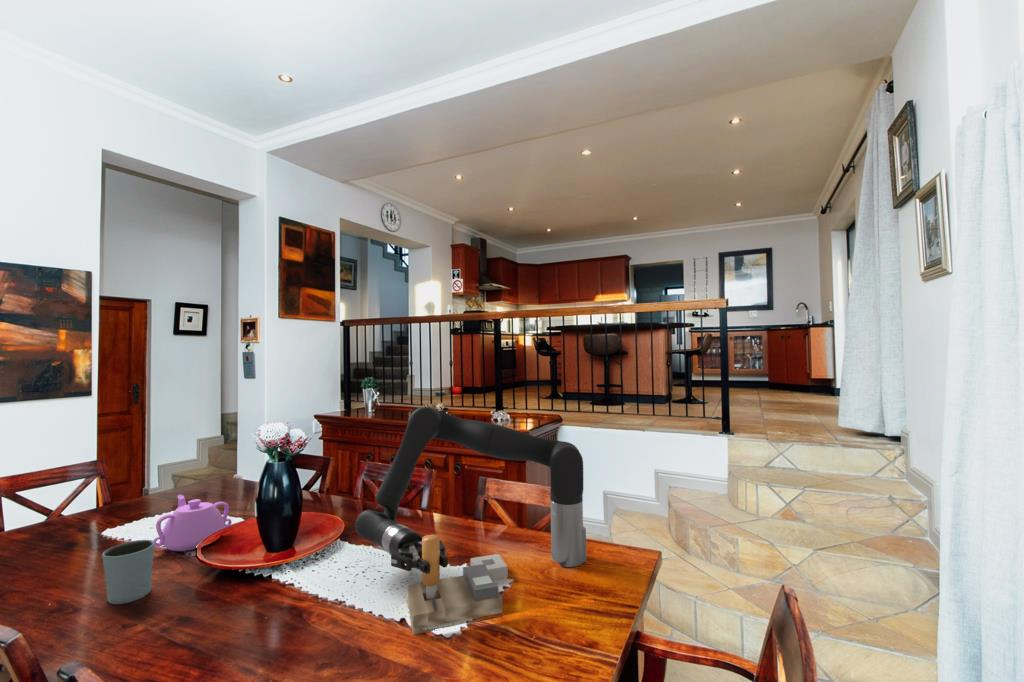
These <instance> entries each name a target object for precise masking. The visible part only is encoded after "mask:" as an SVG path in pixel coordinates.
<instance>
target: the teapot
mask: <svg viewBox="0 0 1024 682" xmlns="http://www.w3.org/2000/svg"><path fill="white" fill-rule="evenodd" d="M177 502H178V503H177V508H176V509H175V510H174V511H173V512H172V513H169V514H165V515H163V516H161V517H159V518H158V520H157V521H156V523H155V528H156V533H157V535H158V537H155V538H154V539H152V541H154V548H155V547H156V548H159V547H162V546H164V547H165V549H167V550H168V551H173V552H188V551H193V550H196V549H195V548H196V546H197V545H198V544H199V543H200V542H201V541H203V540H204V539H205V538H207V537H208V536H210V535H212V534H213V533H215V532H218V531H219V530H221V529H223V528H226V527H227V526H229V527H230V526H231V525H232V522H233V521H232V519H230V518H228V514H229V511H230V507H229V504H228V503H227V502H225V501H218V502H215V503H212V502H207V501H206V502H202V501H201V499H199V498H198V499H197V498H195V499H191V500H188V501H186V498H185V496H184V495H183V494H178V495H177ZM219 506H223V507H224V510H223V511H224V512H223V514H222V513H221V512H220V510H219V509H218V508H217V507H219ZM165 520H166V523H165V525H164V526H163V529H162V525H161V524H162V523H163V521H165ZM227 528H228V527H227ZM157 541H159V542H157ZM187 550H188V551H187Z"/></svg>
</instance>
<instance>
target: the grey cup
mask: <svg viewBox="0 0 1024 682" xmlns="http://www.w3.org/2000/svg"><path fill="white" fill-rule="evenodd" d="M154 552H155V546H154V541H153V539H138V540H131V541H126V542H124V543H120V544H117V545H114V546H112V547H109V548H108V549H106V550H104V551H103V552H102V554H101V557H102V564H103V571H104V580H105V584H106V586H105V587H106V589H105V590H106V594H107V595H106V596H107V597H106V599H107V602H109V604H110V603H111V604H110V605H122V604H128V603H131V602H134V601H138V600H139V599H142V598H144V597H145V596H147V595H148V594H149V593H150V592H151V591H152V580H153V579H152V577H153V576H152V574H153V567H154V566H153V561H154Z"/></svg>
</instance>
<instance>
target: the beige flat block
mask: <svg viewBox="0 0 1024 682" xmlns="http://www.w3.org/2000/svg"><path fill="white" fill-rule="evenodd" d="M503 602H504V601H503V597H502V596H501V594H500V592H499V591H498V597H497V598H492V599H486V600H481V601H474V599H473V597H472V595H471V593H470V591H469V589H468V587H467V584H466V582H465V580H464V578H463V575H459V576H458V575H457V576H452V577H447V578H442V579H441V578H440V582H439V583H438V584H436V599H431V600H428V601H426V585H424V584H423V583H422V582H417V583H411V584H406V605H407V604H408V606H407V610H408V609H409V611H408V614H410V616H409V619H410V620H411V621H410V626H411V629H412V630H411V631H412V635H419V634H423V633H428V632H433V630H434V631H436V630H435V629H437V628H438V627H436V626H440V625H441V626H442V625H447V624H452V623H457V622H461V621H466V620H471V619H475V620H471V621H467V622H468V623H469V624H474V623H478V622H483V621H487V620H493V619H498V618H503V617H504V614H502V613H503V612H504V610H503V608H504V607H503V605H504V603H503ZM497 614H501V615H497ZM492 615H496V616H492ZM486 616H490V617H487V618H486ZM482 617H485V618H482ZM477 618H480V619H477ZM481 618H482V619H481ZM473 622H474V623H473ZM431 627H432V628H431ZM433 627H436V628H433ZM426 628H431V629H427V630H424V629H426Z"/></svg>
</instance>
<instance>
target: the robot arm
mask: <svg viewBox="0 0 1024 682" xmlns="http://www.w3.org/2000/svg"><path fill="white" fill-rule="evenodd" d="M431 439H435V440H441V441H446V442H453V443H456V444H458V445H460V446H462V447H465V448H467V449H469V450H471V451H474V452H476V453H478V454H482V455H485V456H489V457H492V458H496V459H500V460H507V461H529V462H534V463H536V464H540V465H543V466H546V467H548V468H550V491H549V492H550V498H549V499H550V546H551V547H550V548H551V549H550V556H551V559H552V561H554V562H555V563H558V564H559V566H561V567H563V568H573V567H574V568H575V567H578V566H581V565H582V564H583V563H587V528H586V527H585V526H584V509H583V508H584V506H583V504H584V503H583V502H584V501H583V500H584V498H583V494H584V459H583V456H582V453H581V452H580V450H579V449H578V447H577V446H576V445H574V444H573V443H571V442H568V441H563V440H562V441H561V440H556V439H555V440H554V439H549V438H541V437H539V436H538V437H537V436H534V435H531V434H528V433H526V432H524V431H520V430H516V429H514V428H510V427H507V426H504V425H500V424H497V423H492V422H487V421H481V420H475V419H466V418H460V417H457V416H454V415H453V414H452V415H451V414H450V413H449V414H448V413H445V412H444V411H441V410H438V409H436V408H434V407H430V406H422V407H418V408H416V409H415V410H413V412H412V413H410V415H409V419H408V421H407V425H406V428H405V431H404V435H403V437H402V441H401V443H400V445H399V448H398V450H397V453H396V455H395V457H394V459H393V461H392V463H391V465H390V466H389V469H388V470H387V473H386V474H385V477H383V478H384V479H383V480H382V482H381V484H380V486H379V488H378V491H377V492H376V495H375V501H376V503H378V504H379V505H380V506H382V507H383V508H384V509H383V512H379V511H375V510H371V509H366V510H363V511H362V512H360V513H359V514H358V516H357V518H356V520H355V523H354V527H355V528H354V529H355V531H356V533H357V535H358V537H361V538H363V539H364V540H367V541H369V542H372V543H375V544H376V545H378V546H380V547H381V548H382V549H384V550H385V551H386V552H387V554H388V555H390V566H391V567H392V568H393V567H394V568H397V569H399V570H404V571H406V572H407V571H408V572H410V571H412V569H414V570H417V571H418V570H419V571H420V572H421V573H422V572H424V573H426V574H428V573H430V564H429V563H428V562H427V561H425V560H423V559H422V538H423V536H422V535H420V534H419V532H417V531H415V530H413V529H412V528H409V527H408V526H406V525H403V524H401V523H399V522H397V521H396V519H397V515H398V511H399V506H400V503H401V501H402V499H403V497H404V495H405V493H406V491H407V489H408V486H409V485H410V482H411V479H412V477H413V474H414V470H415V469H416V465H417V463H418V460H419V458H420V456H421V454H422V452H423V451H424V449H425V447H426V446H427V444H428V443H429V442H430V441H431ZM448 561H449V559H448V556H446V547H445V544H444V543H443V542H442V540H441V539H440V567H442V568H448V564H449V562H448Z"/></svg>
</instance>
